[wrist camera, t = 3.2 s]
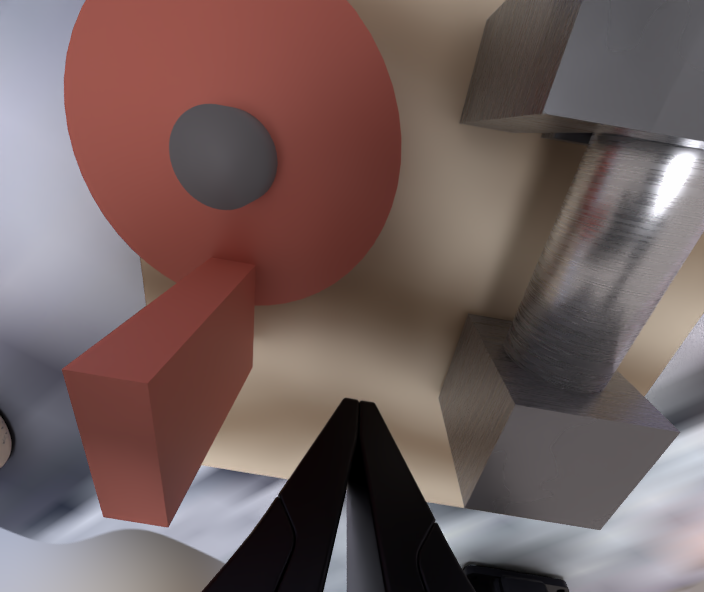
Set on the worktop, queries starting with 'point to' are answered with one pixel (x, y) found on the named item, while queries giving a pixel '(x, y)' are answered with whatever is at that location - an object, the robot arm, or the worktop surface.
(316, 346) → the base board
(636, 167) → the grey rod with block
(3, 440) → the teacup with lid
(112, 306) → the worktop surface
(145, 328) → the handwheel
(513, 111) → the eye post
